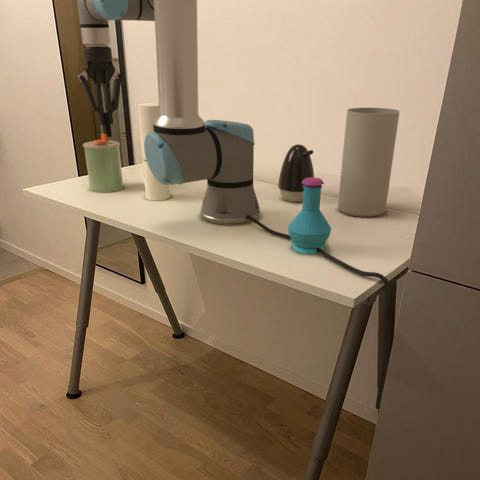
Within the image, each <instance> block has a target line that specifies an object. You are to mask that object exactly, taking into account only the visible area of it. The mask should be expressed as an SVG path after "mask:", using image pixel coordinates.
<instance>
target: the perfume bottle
mask: <svg viewBox="0 0 480 480" xmlns="http://www.w3.org/2000/svg"><path fill="white" fill-rule="evenodd" d="M302 183H303V184H304V185H303V188H304V193H303V201H302V208H301V209H300V211H299V212H298V213H297V214H296V216H295V217H294V218H293V220H292V221H291V222H290V223H289V224H288V226H287V230H288V231H287V232H288V235H289V236H290V238H291V239H290V241H291V243H292V250H293V251H295V252H297V253H300V254H306V255H315V254H320V253H319V252H317V248H320V249H321V250H323V251H324V246H325V245H326V244H327V241H328V239H329V237H330V235H331V232H332V227H331V225H330V224H329V222H328V220H327V219H326V217H325V216H324V214H323V213H322V211H321V210H320V207H321V193H322V189H323V185H324V184H325V182H324V180H323V179H322V178H320V177H315V176H314V177H310V178H305V179H304V180H303V181H302Z"/></svg>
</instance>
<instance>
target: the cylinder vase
mask: <svg viewBox="0 0 480 480" xmlns="http://www.w3.org/2000/svg"><path fill="white" fill-rule="evenodd" d="M400 112H401V111H400V110H398V109H396V108H395V109H393V108H388V107H352V108H351V107H350V108H348V109H346V117H345V128H344V129H345V130H344V139H343V147H342V157H341V169H340V179H339V180H340V181H339V191H338V202H337V209H338V211H340V212H341V213H343V214H345V215H347V216H348V215H349V216H351V217H360V218H373V217H378V216H381V215H383V214H384V213H385V212H386V210H387V203H388V196H389V191H390V190H389V189H390V183H391V175H392V168H393V162H394V161H393V160H394V153H395V147H396V140H397V133H398V125H399V118H400Z"/></svg>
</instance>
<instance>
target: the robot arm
mask: <svg viewBox="0 0 480 480" xmlns="http://www.w3.org/2000/svg"><path fill="white" fill-rule="evenodd" d="M76 5H77V12H78V19H79V26H80V35H81V41H82V44H83V45H84V46H83V49H82V51H83V57H84V58H83V59H84V64H85V65H84V68H83V70H84V71H83V72H81V73H80V74H77V76H76V78H77V79H78V81H79V82H80V84H81V86H82V88H83V92H84V94H85V97H86V99H87V102H88V106H89V108H90V110H91V111H93V112H96V113H97V116H98V123H99V125H100V126H102V131H103V132H102V133H104V134H106V135H107V138H112V137H113V134H112V126H111V125H113V124H114V117H113V113H114V112H115V111H118V109H119V104H120V94H121V86H122V85H121V84H122V81H123V79H124V74H123V73H120V72H118V71H117V69H116V67H115V66H114V61H113V52H112V51H113V50H112V48H111V47H110V45H111V43H112V41H111V35H110V34H111V33H110V25H109V21H137V22H138V21H139V22H141V21H142V22H154V31H155V32H154V33H155V52H156V53H155V55H156V72H157V73H156V74H157V75H156V76H157V91H158V92H157V94H158V95H157V96H158V103H159V115H158V117H157V118H156V119H155V120H154V121H153V132H150V133H149V134H147V135H146V137H145V141H144V151H145V156H146V160H147V163H148V166H149V168H150V170H151V172H152V174H153V175H154V177H155V178H156V179H157V180H158V181H159V182H160V183H162V184H164V185H170V186H172V185H173V186H174V185H178V186H179V185H184V184H187V183H193V182H199V181H206V188H205V189H206V190H205V192H204V196H203V198H202V201H201V203H202V204H201V207H200V218H201V219H202V220H203V221H205V222H208V223H211V224H215V225H226V226H227V225H230V226H231V225H233V226H235V225H244V224H249V223H254V224H255V225H257V226H258V227H260V228H262V229H263V230H264V231H266V232H267V233H269V234H272V235H274V236H277V237H280V238H284V239H288V240H291V238H290V236H289V234H288V233H287V234H286V233H283V232H280V231H277V230H273V229H272V228H269V227H268V226H266V224H263V223H262V222H261V221H259V220H258V219H259V218H260V217H261V208H260V205H259V201H258V197H257V194H256V190H255V188H254V162H255V161H254V160H255V159H254V154H255V153H254V152H255V151H254V149H255V137H254V128H253V127H252V126H251V124H247V123H243V122H239V121H231V120H222V119H220V120H219V119H207V120H204V119H203V118H202V117H201V116H200V114H199V55H198V53H199V51H198V50H199V48H198V47H199V46H198V42H199V41H198V40H199V39H198V0H76ZM112 78H113V83H112V85H113V86H112V95H111V81H112ZM88 80H91V82H92V85H93V89H94V95H93V91H92V89H91V86H90V83H89V81H88ZM102 90H103V91H102ZM102 92H103V93H102ZM94 97H95V98H94ZM103 100H104V101H103ZM104 105H105V106H104ZM104 108H105V109H104ZM317 252H319V253H318V254H320V255H322V256H323V257H325V258H326V259H328V260H330V261H331V262H334V263H335V264H337V265H339V266H341V267H342V268H345V269H346V270H348V271H350V272H352V273H354V274H357V275H359V276H363V277H371V278H377V279H379V280H381V281H382V283H384V285H385V286H388V287H390V286H391V282H390V281H389V279H388V278H387V277H386V276H385V275H383V274H381V273H379V272H375V271H364V270H361V269H359V268H356V267H354V266H352V265H349V264H348V263H346V262H344V261H342V260H340V259H339V258H337V257H335V256H333V255H331V254H330V253H328V252H326V251H324V249H323V250H321V249H320V248H317ZM392 314H393V313H392V307H387V308H386V336H385V346H384V354H383V360H382V366H381V370H380V378H379V381H378V388H377V394H376V402H375V409H376V410H380V407H381V400H382V394H383V388H384V383H385V377H386V372H387V367H388V362H389V361H388V360H389V355H390V349H391V348H390V347H391V337H392V320H393V318H392V316H393V315H392Z"/></svg>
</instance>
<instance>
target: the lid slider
mask: <svg viewBox="0 0 480 480" xmlns="http://www.w3.org/2000/svg"><path fill="white" fill-rule="evenodd" d="M100 137H101V138H100V139H94V140H92V141H94V142H95V143H98V144H100V143H108V141H109V139H108V138H109V137H107V135H106V134H104V132H102V133H100Z"/></svg>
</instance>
